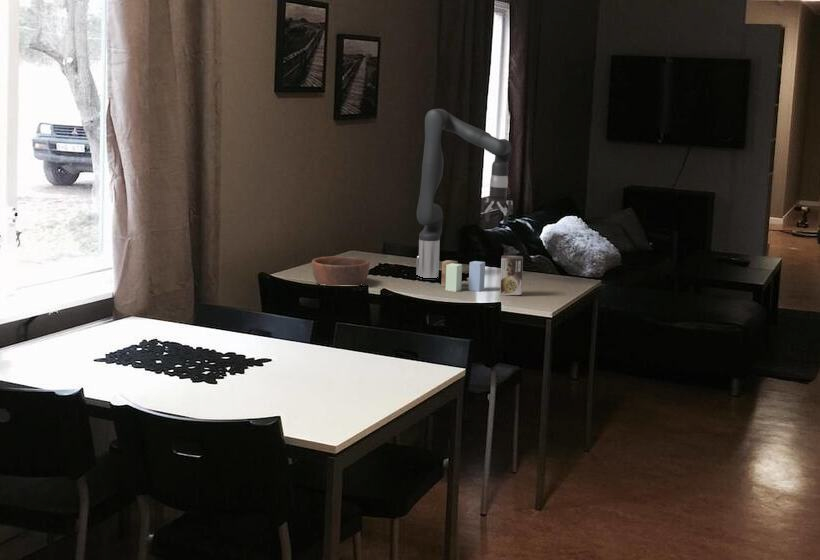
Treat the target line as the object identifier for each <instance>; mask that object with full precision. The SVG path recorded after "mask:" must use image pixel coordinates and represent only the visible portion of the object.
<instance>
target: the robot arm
mask: <svg viewBox="0 0 820 560" xmlns="http://www.w3.org/2000/svg"><path fill="white" fill-rule="evenodd" d="M443 131H447V132H449V133H450V132H451V133H453V134H455V135H457V136H459V137H461V138H462V139H464V140H465V141H467V142H468V143H470V144H472V145H475V146H477V147H479V148H482V149H483V150H485V151H487V152H488V153H489V154H492V155H494V156H495V157H494V161H493V162H492V164H491V175H490V181H489V197H487V196H486V197H483V198H482V200H481V207H480V208H481V209H480V210H481V212H484V221H485V222H486V223H487V222H490V220H491V219H490V218H491V217H490V216H491V213H490V212H491V211H492V210H500V211H501V212H502V213H503V220H502V225H507V223H508V222H509V216H510V215H513V214H514V201H513V200H508V199H507V196H508V187H509V186H508V183H509V179H508V178H509V176H508V175H509V174H508V173H509V163H510V159H511V155H512V144H511V142H510V140H508V139H506V138H500V139H499V138H498V137H495V136H492V135H491V134H490V133H489V132H488V131H485V130H483V129H480V128H479V127H476V126H473V125H471V124H468V123H467V122H464V121H462V120H461V119H459V118H457V117H455V116H454V115H452V113H450V112H448V111H446V110H445V109H444V108H433V109H430V110H428V111H427V112H426V114H425V117H424V147H423V157H422V158H423V159H422V166H421V179H420V180H421V181H420V188H419V190H420V191H419V197H418V202H417V207H416V219H417V222H418V223H419V224H420V225H422V226H424V227H423V229H422V230H421V231H420V232H419V234H418V255H417V256H416V270H415V271H416V272H415V273H416V275H418V276H420V277H423V278H437V277H438V278H439V275H440V274H439V269H440V268H439V267H440V244H441V243H440V239H441V235H442V234H443V233H442V232H443V220H444V212H443V208H442V207H441V206H440V205H439V204H437V203H434V202H435V201H434V200H435V195H436V192H437V189H438V187H439V185H440V183H441V181H442V178H443V174H444V173H443V172H444V160H445V159H444V155H443V154H444V153H443V148H442V142H441V141H442V132H443ZM488 203H489V205H488ZM506 205H507V206H506ZM416 275H415V276H416ZM438 278H437V279H438Z"/></svg>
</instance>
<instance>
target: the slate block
mask: <svg viewBox="0 0 820 560" xmlns="http://www.w3.org/2000/svg"><path fill="white" fill-rule="evenodd" d="M468 269H469V270H468V291H471V292H482V291H485V278H486V277H485V275H486V262H485V261H478V260H474V261H473V260H472V261H470V262H469V267H468Z"/></svg>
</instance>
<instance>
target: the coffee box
mask: <svg viewBox="0 0 820 560" xmlns="http://www.w3.org/2000/svg"><path fill="white" fill-rule="evenodd" d="M500 261H501V262H500V263H501V264H500V265H501V266H500V292H499V295H500V294H523V266H524V265H523V263H524V256H523V255H501V259H500Z"/></svg>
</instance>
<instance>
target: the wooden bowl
mask: <svg viewBox="0 0 820 560" xmlns="http://www.w3.org/2000/svg"><path fill="white" fill-rule="evenodd" d="M370 265H371V262H370V260H369V259H367V258H363V257H357V256H347V255H346V256H344V255H343V256H342V255H336V256H335V255H334V256H333V255H332V256H320V257H317V258H316V257H315V258H313V259H312V260H311V269H312V275H313V278H314V280H315V282H316V283H317V285H319V284H326V285H361V284H363V285H364V284H365V283H366V281H367V279H368V276H369V271H370ZM361 286H362V285H361Z"/></svg>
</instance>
